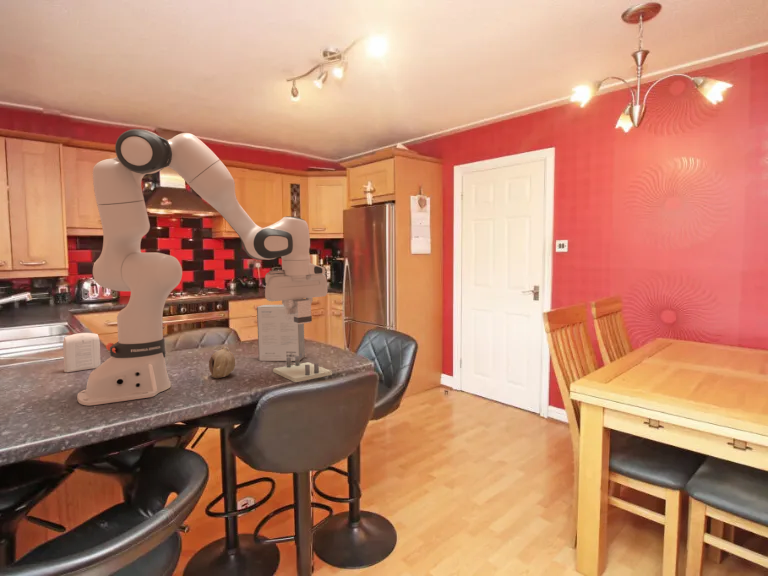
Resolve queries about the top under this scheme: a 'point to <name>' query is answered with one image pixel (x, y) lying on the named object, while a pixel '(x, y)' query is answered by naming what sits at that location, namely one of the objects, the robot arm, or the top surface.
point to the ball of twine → (221, 363)
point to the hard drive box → (278, 335)
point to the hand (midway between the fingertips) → (297, 312)
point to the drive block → (299, 311)
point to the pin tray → (301, 370)
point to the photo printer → (81, 352)
